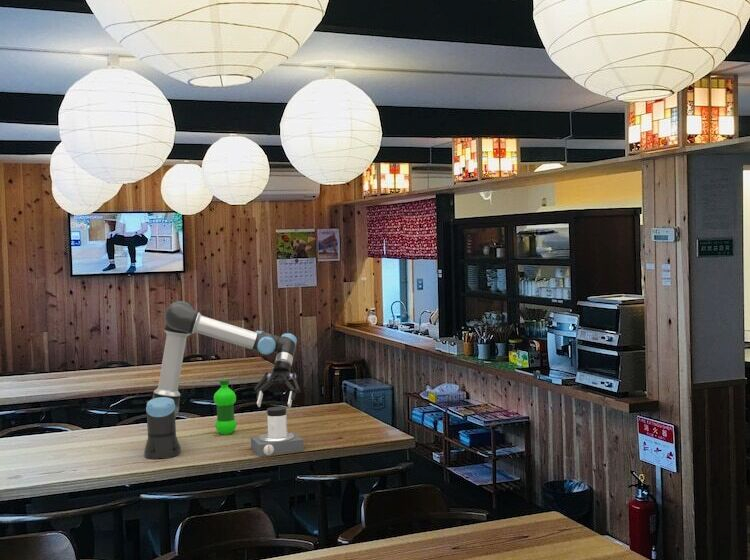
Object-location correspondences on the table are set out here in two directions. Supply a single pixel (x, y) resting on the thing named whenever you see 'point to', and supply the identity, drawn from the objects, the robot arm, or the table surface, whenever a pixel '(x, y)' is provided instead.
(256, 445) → the scale body
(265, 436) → the scale pan
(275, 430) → the jar
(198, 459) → the table surface
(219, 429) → the plastic bottle
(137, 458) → the table surface
